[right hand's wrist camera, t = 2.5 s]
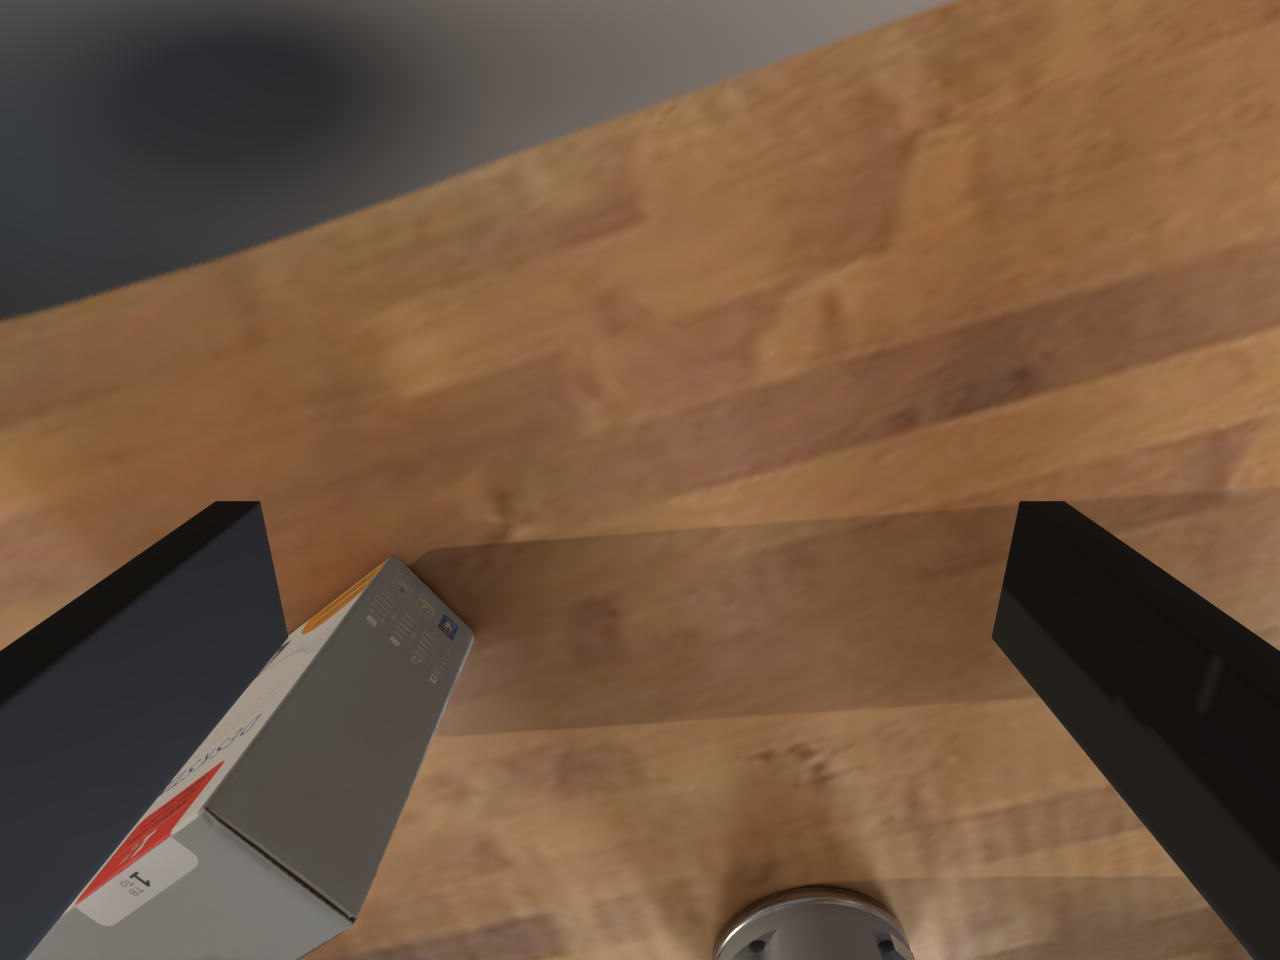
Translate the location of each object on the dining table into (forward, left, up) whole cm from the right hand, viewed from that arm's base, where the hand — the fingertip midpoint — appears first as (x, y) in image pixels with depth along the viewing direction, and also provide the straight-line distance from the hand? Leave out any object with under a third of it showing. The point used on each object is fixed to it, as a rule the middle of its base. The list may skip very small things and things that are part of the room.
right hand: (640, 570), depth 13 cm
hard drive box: (-21, +19, -28) cm, 40 cm away
